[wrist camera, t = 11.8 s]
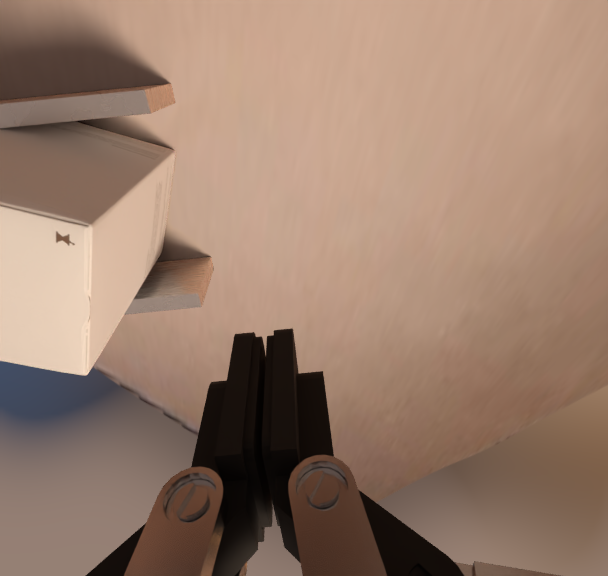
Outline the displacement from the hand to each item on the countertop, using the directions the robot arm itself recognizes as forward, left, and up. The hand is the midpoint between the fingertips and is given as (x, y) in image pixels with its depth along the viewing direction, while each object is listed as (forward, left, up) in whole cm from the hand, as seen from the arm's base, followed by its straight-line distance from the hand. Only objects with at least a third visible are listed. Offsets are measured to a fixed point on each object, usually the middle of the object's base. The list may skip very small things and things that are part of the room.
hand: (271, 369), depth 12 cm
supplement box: (+13, 0, -22) cm, 25 cm away
